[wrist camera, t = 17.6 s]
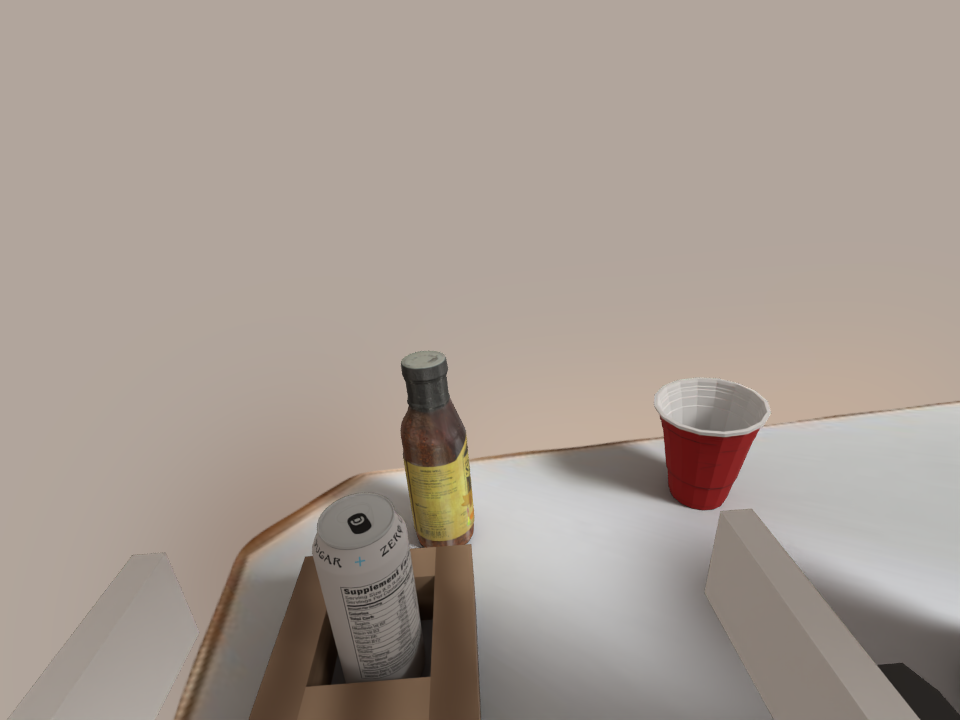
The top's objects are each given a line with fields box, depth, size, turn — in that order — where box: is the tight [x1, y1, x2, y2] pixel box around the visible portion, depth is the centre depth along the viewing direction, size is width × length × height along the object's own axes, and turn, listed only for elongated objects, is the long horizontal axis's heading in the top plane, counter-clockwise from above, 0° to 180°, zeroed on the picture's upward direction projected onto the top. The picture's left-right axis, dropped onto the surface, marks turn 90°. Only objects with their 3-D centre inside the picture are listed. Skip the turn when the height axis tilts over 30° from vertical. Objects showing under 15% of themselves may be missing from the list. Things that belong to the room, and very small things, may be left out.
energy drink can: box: [312, 493, 425, 684], centre depth 34 cm, size 6×6×15 cm
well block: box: [249, 544, 481, 720], centre depth 37 cm, size 14×14×6 cm
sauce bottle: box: [401, 351, 474, 548], centre depth 47 cm, size 6×6×20 cm
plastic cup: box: [654, 378, 771, 510], centre depth 52 cm, size 11×11×12 cm
